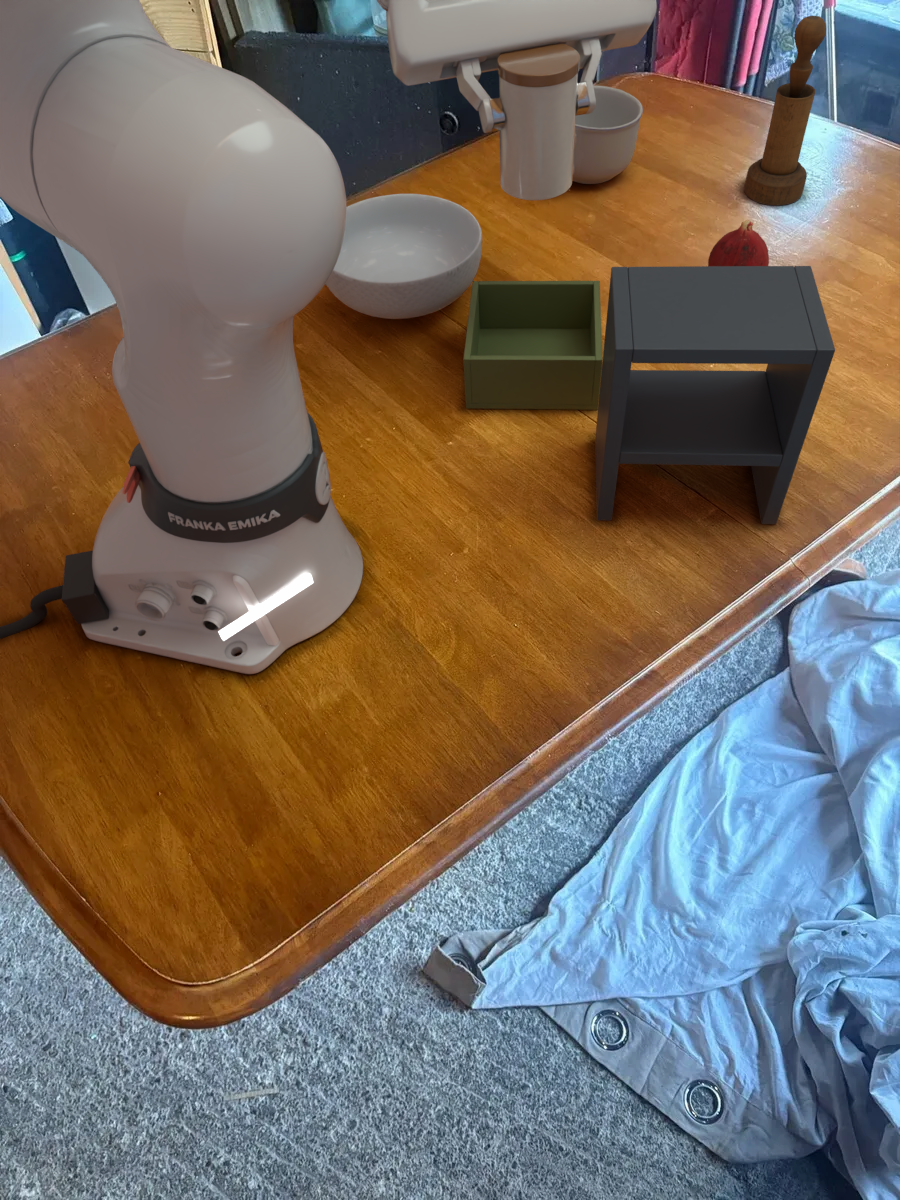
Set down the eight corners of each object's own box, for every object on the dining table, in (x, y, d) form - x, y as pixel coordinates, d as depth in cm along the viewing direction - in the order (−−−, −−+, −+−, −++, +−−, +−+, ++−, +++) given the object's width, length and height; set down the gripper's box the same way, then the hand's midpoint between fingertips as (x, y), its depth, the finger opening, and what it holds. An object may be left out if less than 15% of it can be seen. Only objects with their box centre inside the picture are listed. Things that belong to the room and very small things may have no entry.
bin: (465, 408, 83) (463, 359, 79) (474, 330, 91) (472, 280, 86) (597, 410, 82) (602, 359, 78) (595, 330, 89) (599, 280, 85)
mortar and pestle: (734, 197, 104) (769, 23, 89) (756, 172, 107) (794, 0, 92) (789, 211, 101) (834, 34, 87) (811, 185, 104) (857, 11, 90)
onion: (760, 314, 90) (778, 240, 83) (701, 310, 90) (715, 237, 84) (759, 281, 93) (777, 208, 87) (703, 278, 94) (716, 205, 88)
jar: (497, 201, 70) (495, 76, 63) (500, 164, 74) (499, 42, 67) (573, 200, 70) (580, 74, 63) (573, 163, 73) (579, 39, 66)
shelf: (597, 520, 74) (615, 349, 60) (595, 438, 80) (611, 266, 66) (776, 524, 72) (835, 349, 59) (760, 441, 78) (811, 265, 65)
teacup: (587, 142, 114) (591, 75, 107) (654, 170, 108) (663, 100, 102) (510, 184, 108) (510, 115, 102) (576, 215, 103) (580, 144, 97)
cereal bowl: (357, 363, 88) (346, 300, 83) (304, 279, 98) (292, 218, 92) (510, 314, 92) (510, 251, 86) (445, 238, 102) (441, 177, 96)
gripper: (365, -81, 61) (412, 127, 63) (644, -124, 64) (680, 77, 66) (361, -27, 68) (403, 161, 69) (615, -68, 70) (649, 114, 72)
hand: (540, 120), depth 68 cm, fingers closed on jar, 6 cm apart
